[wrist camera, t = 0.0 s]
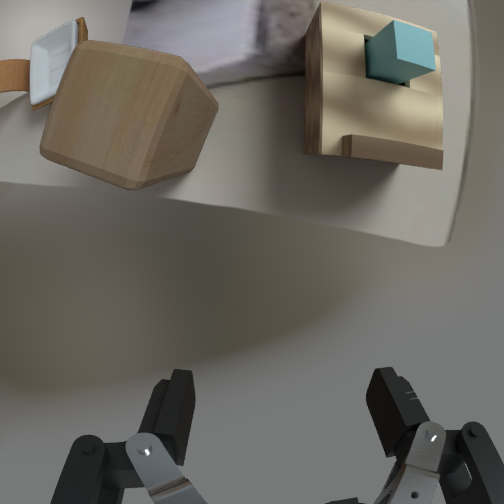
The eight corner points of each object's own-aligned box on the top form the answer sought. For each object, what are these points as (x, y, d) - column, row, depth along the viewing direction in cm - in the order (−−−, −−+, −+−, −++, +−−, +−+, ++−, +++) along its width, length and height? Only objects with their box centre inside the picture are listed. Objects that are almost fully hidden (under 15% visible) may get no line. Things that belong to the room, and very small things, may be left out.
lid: (318, 6, 22) (327, -12, 18) (431, 34, 22) (449, 25, 18) (318, 154, 28) (329, 154, 24) (435, 169, 28) (456, 173, 24)
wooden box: (304, 34, 31) (318, 7, 22) (399, 52, 31) (430, 35, 22) (303, 153, 36) (318, 154, 28) (399, 163, 36) (434, 169, 28)
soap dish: (46, 47, 30) (28, 40, 25) (94, 23, 29) (78, 12, 24) (46, 112, 34) (26, 110, 29) (95, 91, 33) (78, 86, 28)
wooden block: (222, 103, 34) (190, 55, 15) (193, 173, 37) (135, 197, 18) (154, 82, 33) (74, 35, 14) (127, 150, 36) (32, 157, 17)
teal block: (354, 53, 27) (393, 19, 17) (385, 59, 27) (431, 32, 17) (355, 83, 28) (397, 58, 18) (386, 89, 28) (435, 70, 18)
